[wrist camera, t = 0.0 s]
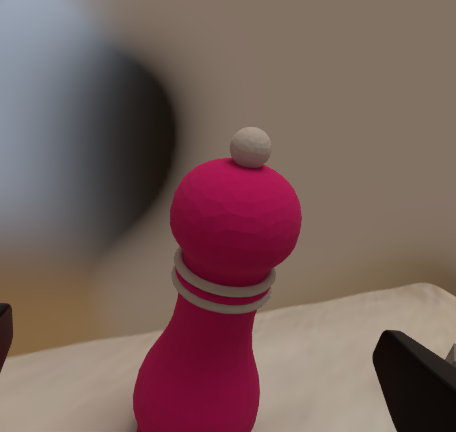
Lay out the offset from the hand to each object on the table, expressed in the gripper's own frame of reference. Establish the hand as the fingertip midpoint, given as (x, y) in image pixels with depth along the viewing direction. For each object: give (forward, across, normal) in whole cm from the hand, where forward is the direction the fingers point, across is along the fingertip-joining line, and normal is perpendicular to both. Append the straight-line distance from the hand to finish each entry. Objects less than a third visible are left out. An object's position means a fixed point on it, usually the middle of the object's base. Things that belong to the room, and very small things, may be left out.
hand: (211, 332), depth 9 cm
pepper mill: (+9, -2, +17) cm, 19 cm away
